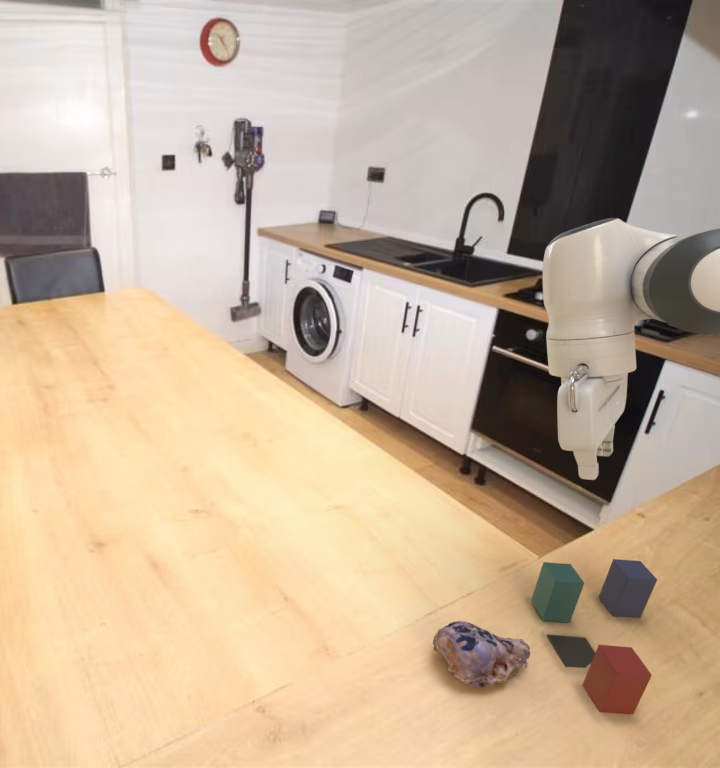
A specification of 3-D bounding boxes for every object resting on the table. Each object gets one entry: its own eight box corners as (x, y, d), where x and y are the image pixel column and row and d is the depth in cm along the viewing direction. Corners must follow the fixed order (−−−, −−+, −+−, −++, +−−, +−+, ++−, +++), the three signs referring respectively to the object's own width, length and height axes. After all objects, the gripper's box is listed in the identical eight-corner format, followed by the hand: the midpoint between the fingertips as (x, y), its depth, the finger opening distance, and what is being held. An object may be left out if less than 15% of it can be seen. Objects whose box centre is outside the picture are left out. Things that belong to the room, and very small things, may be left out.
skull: (513, 639, 71) (525, 606, 68) (545, 696, 64) (560, 663, 61) (421, 639, 71) (429, 606, 68) (443, 696, 64) (453, 663, 61)
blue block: (624, 599, 77) (640, 560, 75) (640, 618, 74) (657, 579, 71) (598, 596, 78) (612, 558, 75) (612, 616, 74) (628, 577, 72)
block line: (561, 602, 77) (575, 564, 74) (637, 719, 61) (658, 675, 58) (526, 599, 77) (538, 561, 74) (592, 714, 61) (611, 671, 59)
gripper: (605, 372, 57) (613, 497, 59) (634, 343, 71) (640, 445, 73) (537, 374, 61) (546, 490, 63) (577, 346, 76) (584, 442, 77)
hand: (596, 465), depth 68 cm, fingers open, 8 cm apart
